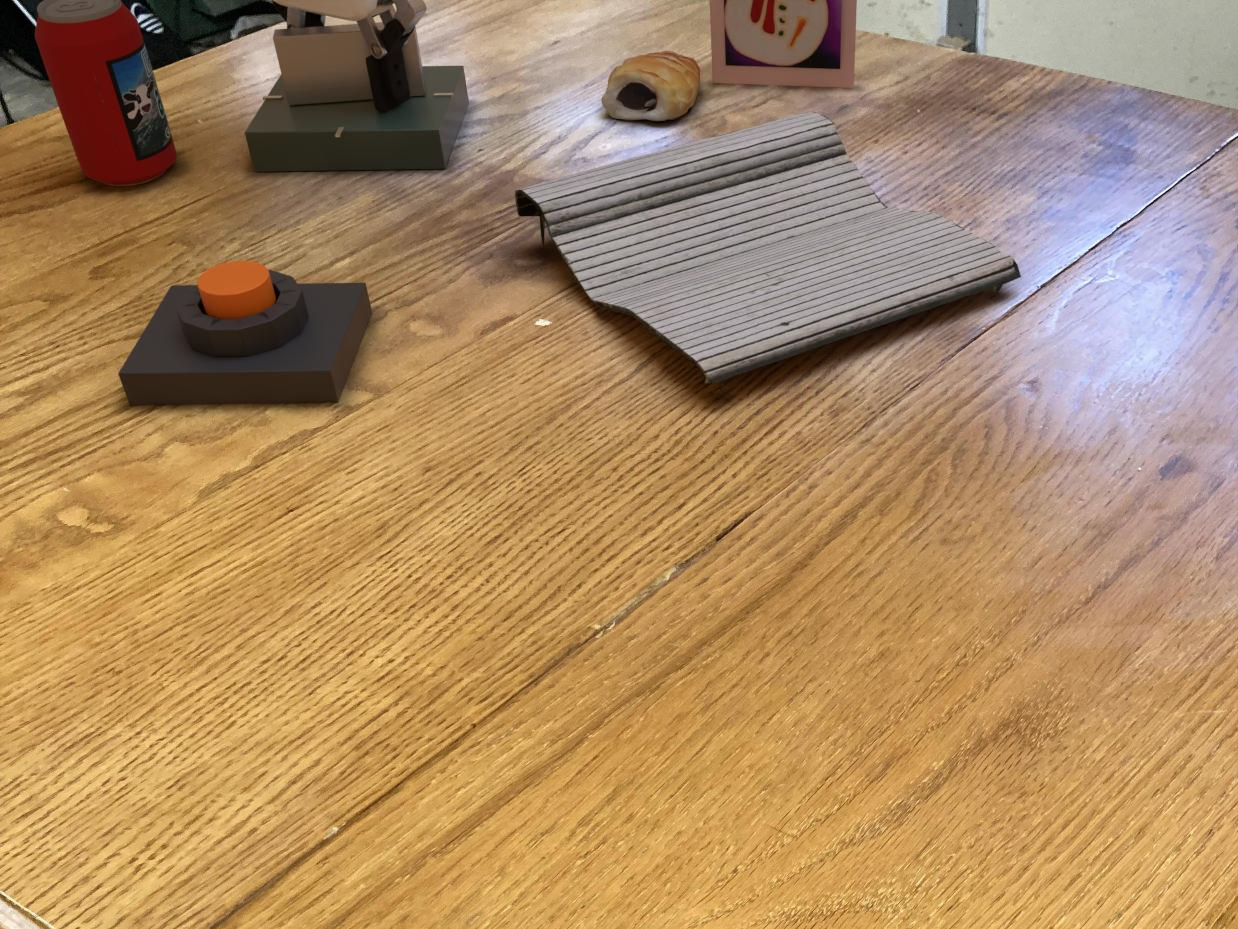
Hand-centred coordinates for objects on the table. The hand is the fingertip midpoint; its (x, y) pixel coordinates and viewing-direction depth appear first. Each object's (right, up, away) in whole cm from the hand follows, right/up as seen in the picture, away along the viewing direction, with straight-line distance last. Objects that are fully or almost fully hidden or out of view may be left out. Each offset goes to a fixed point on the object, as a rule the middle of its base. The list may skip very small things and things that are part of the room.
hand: (359, 94), depth 106 cm
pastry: (+22, +1, +6) cm, 22 cm away
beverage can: (-16, -6, -2) cm, 17 cm away
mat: (+30, -17, -14) cm, 37 cm away
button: (0, -21, -24) cm, 32 cm away
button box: (0, -24, -21) cm, 32 cm away
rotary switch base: (0, -2, +2) cm, 3 cm away
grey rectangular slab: (0, 0, 0) cm, 0 cm away
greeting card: (+32, +6, +10) cm, 34 cm away
